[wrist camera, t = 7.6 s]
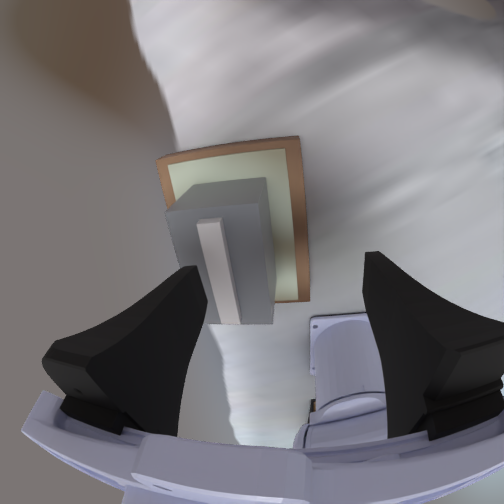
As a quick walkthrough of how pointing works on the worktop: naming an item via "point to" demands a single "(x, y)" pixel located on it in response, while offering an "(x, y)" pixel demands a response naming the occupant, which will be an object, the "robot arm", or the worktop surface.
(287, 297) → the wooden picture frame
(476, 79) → the worktop surface
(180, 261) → the grey box
